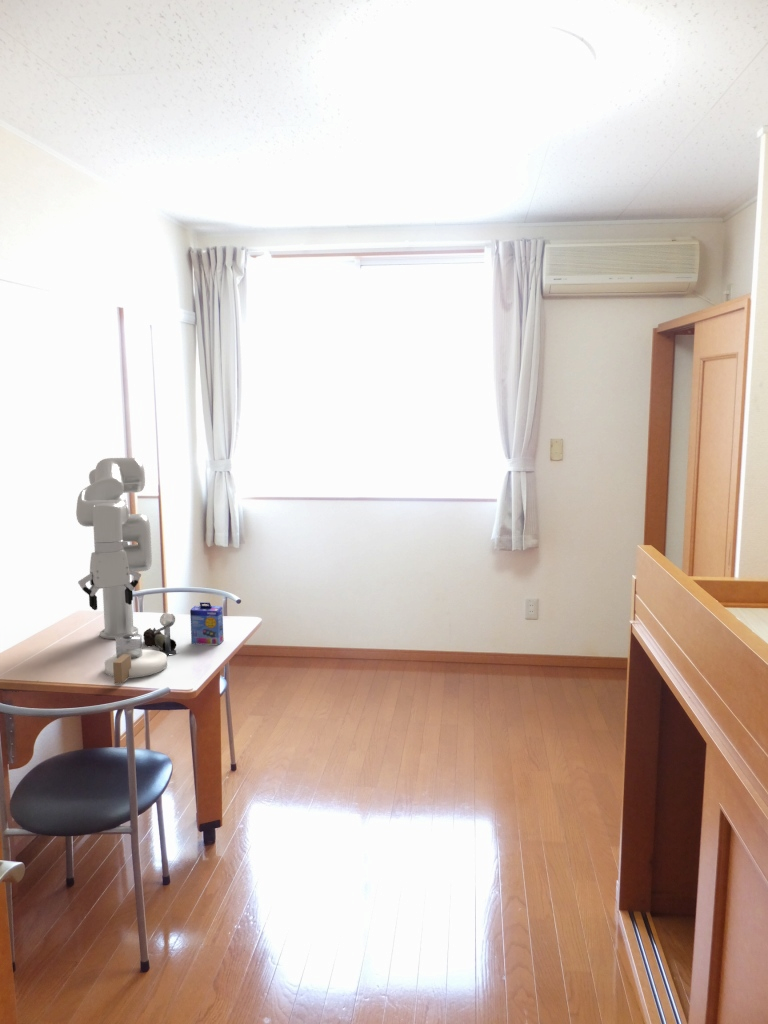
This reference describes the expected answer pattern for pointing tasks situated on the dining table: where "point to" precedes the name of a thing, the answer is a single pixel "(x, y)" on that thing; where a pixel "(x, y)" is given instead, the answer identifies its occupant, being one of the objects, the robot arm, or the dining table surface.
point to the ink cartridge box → (206, 624)
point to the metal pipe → (156, 639)
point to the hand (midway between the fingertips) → (111, 606)
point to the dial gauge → (167, 631)
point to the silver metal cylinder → (129, 645)
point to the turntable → (135, 665)
